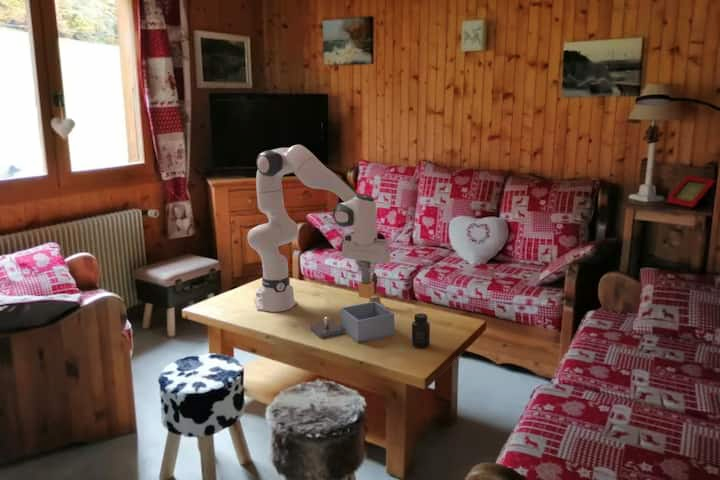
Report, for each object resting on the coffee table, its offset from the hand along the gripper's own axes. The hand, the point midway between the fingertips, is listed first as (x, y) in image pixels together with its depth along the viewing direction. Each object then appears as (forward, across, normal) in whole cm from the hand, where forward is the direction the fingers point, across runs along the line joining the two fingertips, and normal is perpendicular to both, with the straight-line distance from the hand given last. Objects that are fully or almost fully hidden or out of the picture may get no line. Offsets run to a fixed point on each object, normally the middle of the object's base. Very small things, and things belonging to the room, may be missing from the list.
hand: (366, 271), depth 229 cm
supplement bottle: (+26, -24, 0) cm, 35 cm away
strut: (+10, 0, 0) cm, 10 cm away
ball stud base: (+25, +14, +8) cm, 30 cm away
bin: (+25, 0, 0) cm, 25 cm away
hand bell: (+26, +12, -25) cm, 38 cm away
